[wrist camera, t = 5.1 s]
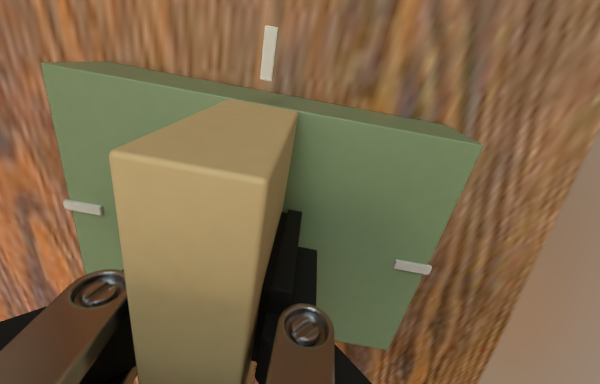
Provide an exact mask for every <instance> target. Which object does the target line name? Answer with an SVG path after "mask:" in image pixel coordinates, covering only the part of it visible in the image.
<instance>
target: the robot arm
mask: <svg viewBox="0 0 600 384" xmlns="http://www.w3.org/2000/svg"><path fill="white" fill-rule="evenodd" d="M301 218H302V212H300V211H295V210H290V209H288V212H287V213H285V212H282V213H281V216H280V220H279V224H278V228H277V232H276V236H275V240H274V243H273V247H272V251H271V255H270V259H269V263H268V267H267V271H266V275H265V278H264V283H263V287H262V293H261V299H260V305H259V312H258V319H257V325H256V332H255V339H254V345H253V352H252V358H251V361H255V362H257V367H256V373H255V378H256V380H257V381H258V383H259V384H372V383H371V382H370V381H369V380H368V379H367V378H366V377H365V376H364V375H363V374H362V373H361V372H360V371H359V369H358V368H357V367H356V366H355V365H354V364H353V363H352V362H351V361H350V360H349V359H348V358H347V357H346V356H345V355H344V354H343V352H342V351H341V350H340V349H339V348H338V347H337V346H336V345H335V344H334V327H333V323H332V321H331V320H330V318H329V316H328V315H327V314H326V313H325V312H324V311H323V310H321V309H320V308H318V307H316V294H317V250H314V249H309V248H303V247H298V243H299V235H300V226H301ZM136 376H137V366H136V358H135V351H134V343H133V336H132V328H131V321H130V313H129V305H128V298H127V290H126V283H125V275H124V269H123V270H122V271H121V270H117V269H105V270H98V271H95V272H92V273H88V274H86V275H84V276H82V277H80V278H78V279H77V280H75V281H74V282H73V283H72V284H70V285H69V286H68V287H67V288H66V289H65V290H64V291H63V292H62V293H61V294H60V295H59V296H58V297H57V298H55V299H54V300H53V301H52V302H51V303H50V304H49V305H48V306H47V307H44V308H41V309H38V310H35V311H32V312H29V313H26V314H23V315H20V316H17V317H13V318H10V319H7V320H4V321H1V322H0V384H132V383H133V381H134V379H135V378H136Z"/></svg>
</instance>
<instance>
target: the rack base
mask: <svg viewBox="0 0 600 384" xmlns="http://www.w3.org/2000/svg"><path fill="white" fill-rule="evenodd" d="M277 38H278V28H277V27H273V26H267V25H265V31H264V41H263V51H262V61H261V71H260V80H266V81H272V80H273V71H274V63H275V55H276V46H277ZM41 68H42V72H43V77H44V82H45V86H46V91H47V96H48V101H49V105H50V110H51V115H52V119H53V124H54V129H55V133H56V138H57V143H58V147H59V152H60V157H61V162H62V166H63V171H64V176H65V180H66V185H67V190H68V194H69V199H70V200H68V199H66V200H64V201H63V203H64V207H65V209H68V210H72V213H73V218H74V223H75V227H76V232H77V237H78V241H79V246H80V251H81V255H82V260H83V265H84V269H85V274H88V273H92V272H95V271H98V270H105V269H117V270H121V271H122V270H123V269H124V268H123V260H122V252H121V245H120V237H119V230H118V222H117V214H116V207H115V199H114V192H113V184H112V177H111V169H110V161H109V154H110V152H111V150H113V149H116V148H118V147H120V146H123V145H125V144H127V143H129V142H132V141H134V140H136V139H139V138H141V137H143V136H146V135H148V134H150V133H152V132H155V131H157V130H159V129H162V128H164V127H166V126H168V125H171V124H173V123H175V122H178V121H180V120H182V119H185V118H187V117H189V116H191V115H194V114H196V113H198V112H201V111H203V110H205V109H207V108H210V107H212V106H214V105H217V104H219V103H221V102H224V101H226V100H228V99H235V100H240V101H245V102H251V103H256V104H261V105H267V106H272V107H277V108H283V109H288V110H293V111H296V112H298V119H297V125H296V131H295V137H294V144H293V150H292V156H291V162H290V168H289V174H288V180H287V186H286V192H285V198H284V204H283V210H282V212H285V213H287V212H288V209H290V210H295V211H300V212H302V218H301V226H300V235H299V243H298V247H303V248H309V249H314V250H317V294H316V307H318V308H320V309H321V310H323V311H324V312H325V313H326V314H327V315H328V316H329V318H330V320H331V321H332V323H333V327H334V341H338V342H343V343H349V344H355V345H360V346H366V347H371V348H377V349H383V350H388V349H389V346H390V344H391V342H392V340H393V338H394V336H395V334H396V331H397V329H398V327H399V325H400V323H401V321H402V319H403V317H404V314H405V312H406V310H407V308H408V306H409V304H410V302H411V299H412V297H413V295H414V293H415V291H416V289H417V287H418V285H419V282H420V280H421V278H422V276H423V274H426V275H429V274H430V272H431V269H432V267H431V265H428V263H429V261H430V259H431V257H432V255H433V253H434V250H435V248H436V246H437V244H438V242H439V240H440V238H441V236H442V233H443V231H444V229H445V227H446V225H447V223H448V221H449V218H450V216H451V214H452V212H453V210H454V208H455V206H456V204H457V201H458V199H459V197H460V195H461V193H462V191H463V189H464V186H465V184H466V182H467V180H468V178H469V176H470V174H471V172H472V169H473V167H474V165H475V163H476V161H477V159H478V157H479V155H480V152H481V150H482V148H483V145H482V144H480V143H478V142H476V141H475V140H473V139H471V138H469V137H467V136H465V135H463V134H461V133H460V132H458V131H456V130H454V129H452V128H450V127H448V126H446V125H443V124H438V123H432V122H427V121H422V120H416V119H411V118H405V117H400V116H395V115H389V114H384V113H379V112H373V111H368V110H363V109H357V108H352V107H347V106H341V105H336V104H331V103H325V102H320V101H315V100H309V99H304V98H299V97H293V96H288V95H283V94H277V93H272V92H266V91H261V90H256V89H250V88H245V87H240V86H234V85H229V84H224V83H218V82H213V81H208V80H202V79H197V78H192V77H186V76H181V75H176V74H170V73H165V72H160V71H154V70H149V69H144V68H138V67H133V66H127V65H122V64H117V63H111V62H44V63H41Z"/></svg>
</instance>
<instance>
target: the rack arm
mask: <svg viewBox="0 0 600 384" xmlns="http://www.w3.org/2000/svg"><path fill="white" fill-rule="evenodd" d="M297 119H298V112H296V111H293V110H288V109H283V108H277V107H272V106H267V105H261V104H256V103H251V102H245V101H240V100H235V99H228V100H226V101H224V102H221V103H219V104H217V105H214V106H212V107H210V108H207V109H205V110H203V111H201V112H198V113H196V114H194V115H191V116H189V117H187V118H185V119H182V120H180V121H178V122H175V123H173V124H171V125H168V126H166V127H164V128H162V129H159V130H157V131H155V132H152V133H150V134H148V135H146V136H143V137H141V138H139V139H136V140H134V141H132V142H129V143H127V144H125V145H123V146H120V147H118V148H116V149H113V150H111V152H110V154H109V161H110V169H111V177H112V184H113V192H114V199H115V207H116V214H117V222H118V230H119V237H120V245H121V252H122V260H123V268H124V275H125V283H126V290H127V298H128V305H129V313H130V321H131V328H132V336H133V343H134V351H135V358H136V366H137V374H138V381H139V384H251V381H252V376H253V372H254V367H255V363H256V362H255V361H251V358H252V352H253V345H254V339H255V332H256V325H257V319H258V312H259V305H260V299H261V293H262V287H263V283H264V278H265V275H266V271H267V267H268V263H269V259H270V255H271V251H272V247H273V243H274V240H275V236H276V232H277V228H278V224H279V220H280V216H281V213H282V210H283V204H284V198H285V192H286V186H287V180H288V174H289V168H290V162H291V156H292V150H293V144H294V137H295V131H296V125H297Z"/></svg>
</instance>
